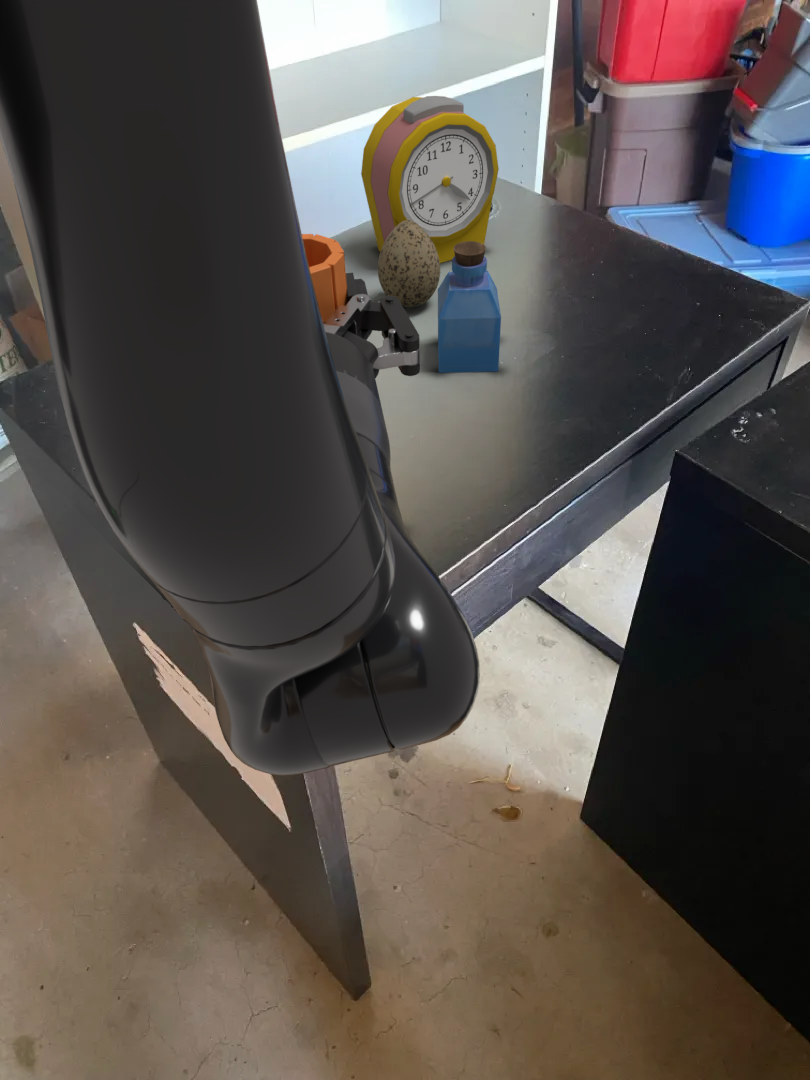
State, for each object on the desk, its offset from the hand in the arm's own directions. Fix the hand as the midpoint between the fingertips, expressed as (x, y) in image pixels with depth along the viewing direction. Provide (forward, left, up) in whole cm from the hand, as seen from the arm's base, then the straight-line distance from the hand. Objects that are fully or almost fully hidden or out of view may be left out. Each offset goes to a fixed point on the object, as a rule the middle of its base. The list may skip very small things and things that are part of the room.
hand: (299, 290), depth 57 cm
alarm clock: (+47, +22, -21) cm, 56 cm away
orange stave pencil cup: (-2, -2, -5) cm, 6 cm away
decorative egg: (+34, +16, -21) cm, 43 cm away
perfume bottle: (+28, +4, -21) cm, 35 cm away
